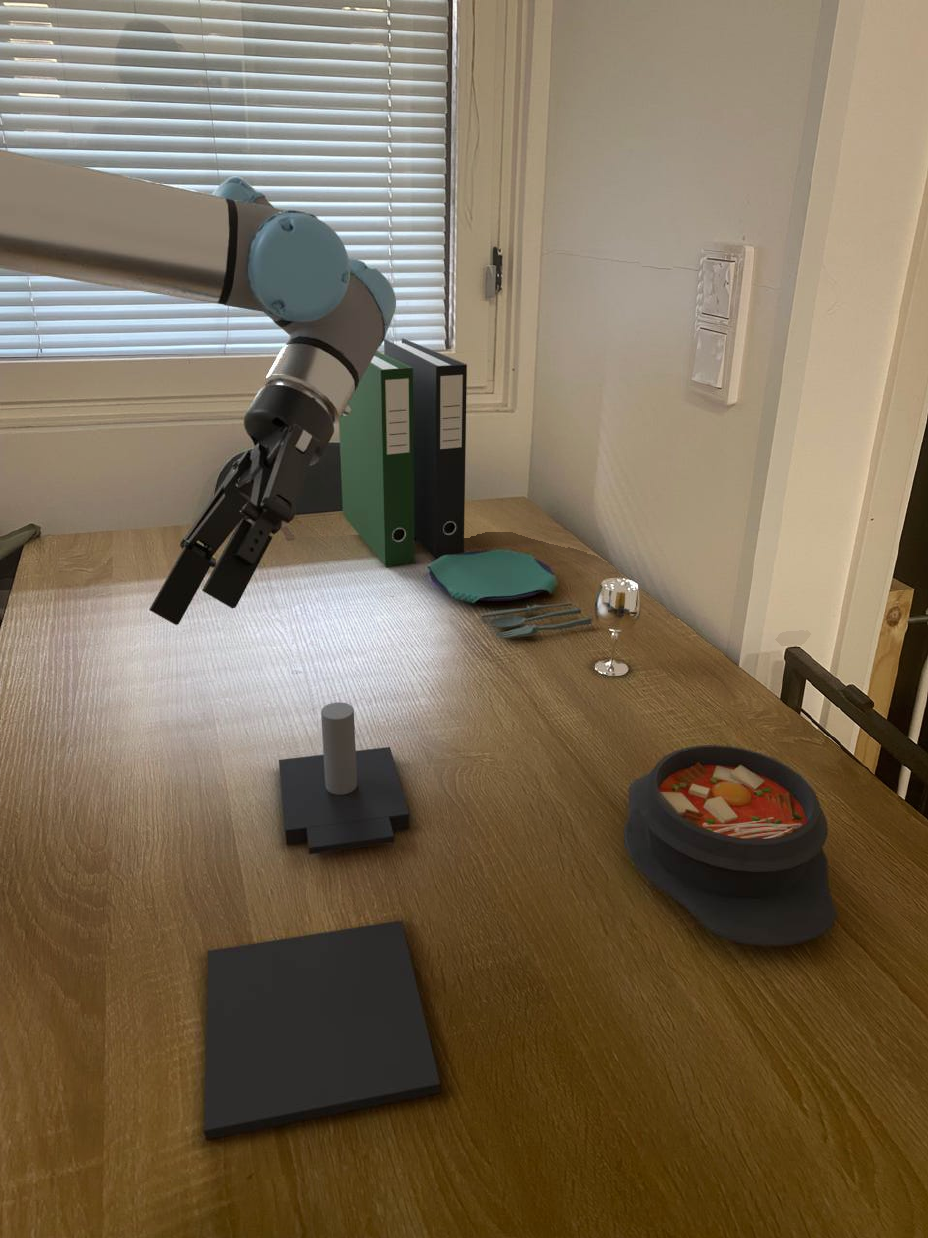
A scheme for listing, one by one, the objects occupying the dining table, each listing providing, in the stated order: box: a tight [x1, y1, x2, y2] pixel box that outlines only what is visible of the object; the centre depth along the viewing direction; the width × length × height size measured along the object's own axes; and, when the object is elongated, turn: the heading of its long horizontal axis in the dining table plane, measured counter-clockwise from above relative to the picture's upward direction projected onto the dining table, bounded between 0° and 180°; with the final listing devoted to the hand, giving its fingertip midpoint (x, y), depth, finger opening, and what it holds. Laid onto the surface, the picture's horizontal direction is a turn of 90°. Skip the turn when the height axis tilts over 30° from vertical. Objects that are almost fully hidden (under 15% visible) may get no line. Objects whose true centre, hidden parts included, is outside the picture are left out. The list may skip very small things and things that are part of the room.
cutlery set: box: [427, 548, 593, 639], centre depth 140 cm, size 20×30×2 cm, turn 19°
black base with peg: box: [278, 701, 410, 855], centre depth 90 cm, size 12×15×11 cm
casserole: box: [623, 744, 838, 947], centre depth 84 cm, size 25×19×8 cm
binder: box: [338, 338, 468, 568], centre depth 157 cm, size 27×15×32 cm, turn 23°
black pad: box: [203, 919, 441, 1141], centre depth 69 cm, size 16×16×1 cm
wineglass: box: [594, 577, 641, 677], centre depth 118 cm, size 6×6×12 cm
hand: (189, 609), depth 75 cm, fingers open, 13 cm apart
